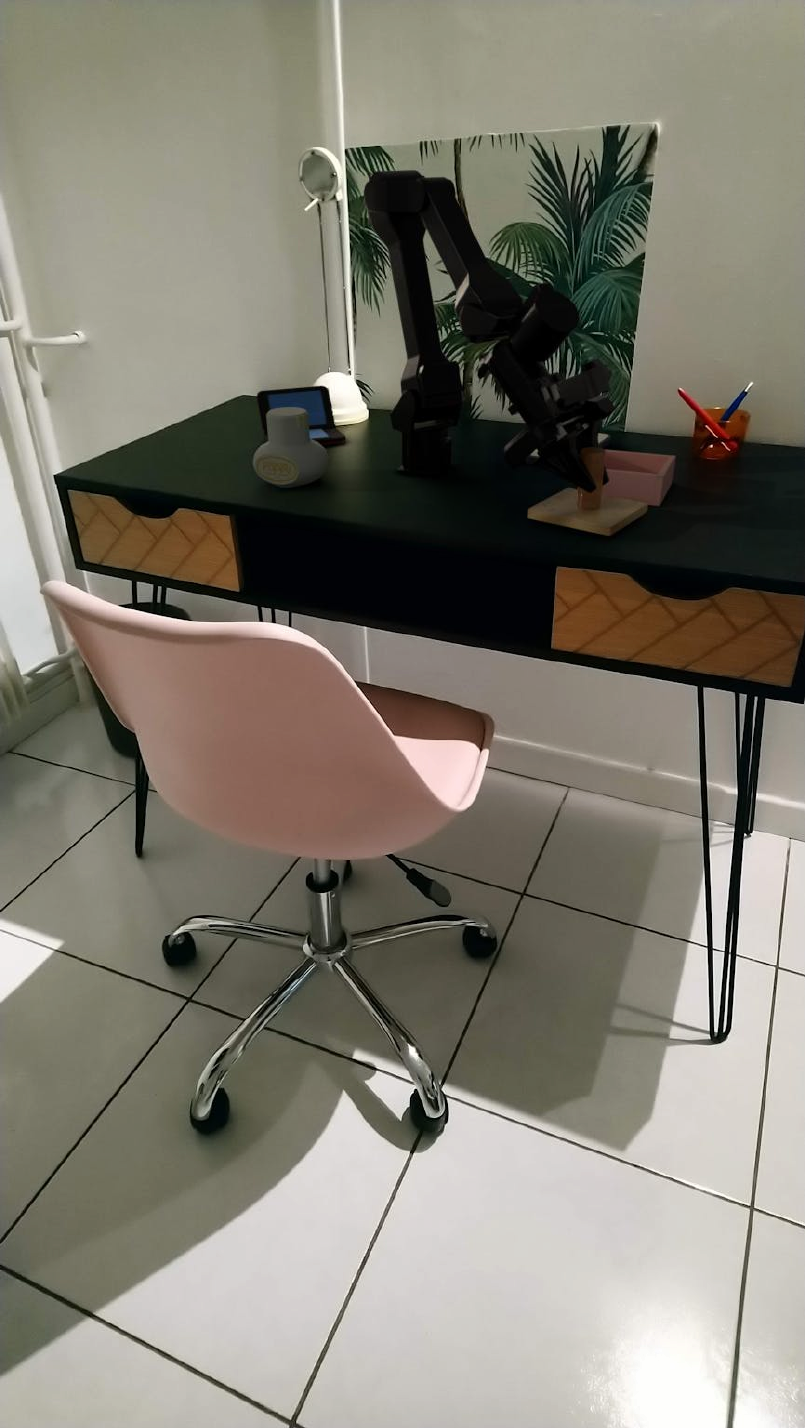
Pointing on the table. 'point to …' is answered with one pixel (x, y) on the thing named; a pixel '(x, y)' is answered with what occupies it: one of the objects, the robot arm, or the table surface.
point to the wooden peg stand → (589, 503)
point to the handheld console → (312, 402)
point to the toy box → (638, 476)
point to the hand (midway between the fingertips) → (599, 487)
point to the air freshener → (290, 450)
